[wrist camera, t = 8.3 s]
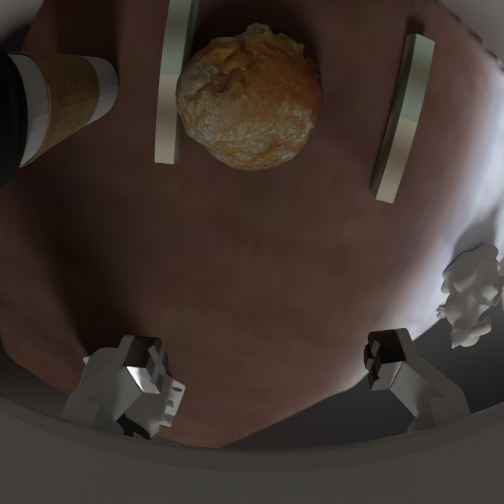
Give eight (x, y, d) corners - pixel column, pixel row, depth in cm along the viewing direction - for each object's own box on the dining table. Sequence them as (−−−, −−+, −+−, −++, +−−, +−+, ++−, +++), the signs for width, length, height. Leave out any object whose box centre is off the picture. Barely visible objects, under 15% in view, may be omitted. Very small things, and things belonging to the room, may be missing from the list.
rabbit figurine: (440, 318, 32) (466, 379, 24) (401, 303, 31) (426, 372, 23) (499, 246, 26) (542, 302, 18) (464, 220, 24) (515, 279, 16)
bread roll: (191, 88, 23) (136, 140, 19) (243, -6, 15) (179, 19, 11) (282, 149, 26) (249, 214, 22) (360, 75, 17) (346, 132, 13)
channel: (385, 193, 24) (392, 203, 22) (163, 155, 24) (154, 162, 22) (423, 42, 16) (434, 41, 14) (180, -6, 16) (172, -11, 14)
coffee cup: (95, 151, 24) (-25, 236, 11) (43, 98, 20) (-82, 150, 8) (151, 81, 20) (13, 115, 8) (91, 26, 17) (-51, 30, 4)
